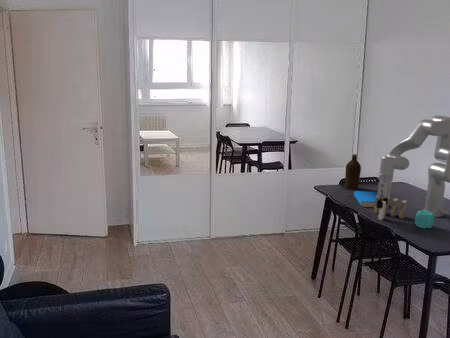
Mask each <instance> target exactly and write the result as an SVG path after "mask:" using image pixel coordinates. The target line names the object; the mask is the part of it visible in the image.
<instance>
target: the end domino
mask: <svg viewBox="0 0 450 338" xmlns="http://www.w3.org/2000/svg"><path fill="white" fill-rule="evenodd" d="M385 207H386V202H385V201H383V206H382V209H381V208H379V212H378V218H377V220H379V221H383V220H384V218H385V216H386V215H385Z"/></svg>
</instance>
